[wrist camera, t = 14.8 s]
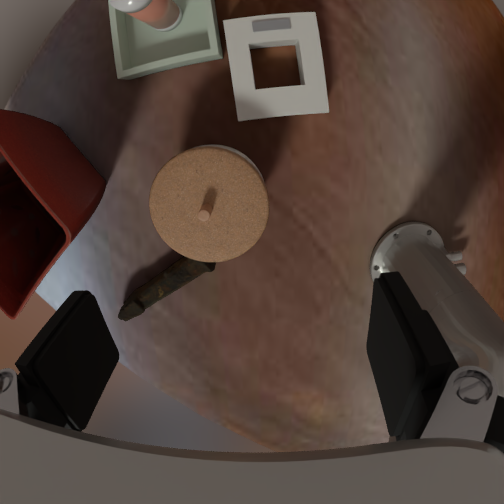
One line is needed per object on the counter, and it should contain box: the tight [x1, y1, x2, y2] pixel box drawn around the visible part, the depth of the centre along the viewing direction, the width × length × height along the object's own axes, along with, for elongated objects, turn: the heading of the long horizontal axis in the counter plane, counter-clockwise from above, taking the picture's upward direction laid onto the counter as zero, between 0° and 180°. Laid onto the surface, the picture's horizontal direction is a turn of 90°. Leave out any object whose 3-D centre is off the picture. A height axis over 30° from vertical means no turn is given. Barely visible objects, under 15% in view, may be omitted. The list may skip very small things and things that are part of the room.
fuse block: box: [223, 12, 329, 121], centre depth 31 cm, size 10×12×4 cm
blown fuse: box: [109, 0, 183, 32], centre depth 24 cm, size 4×4×12 cm
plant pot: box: [0, 109, 106, 320], centre depth 33 cm, size 19×19×17 cm
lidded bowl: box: [149, 144, 269, 262], centre depth 36 cm, size 13×13×11 cm
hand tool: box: [118, 256, 216, 321], centre depth 45 cm, size 19×4×5 cm, turn 123°
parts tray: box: [108, 0, 223, 80], centre depth 29 cm, size 12×14×4 cm
